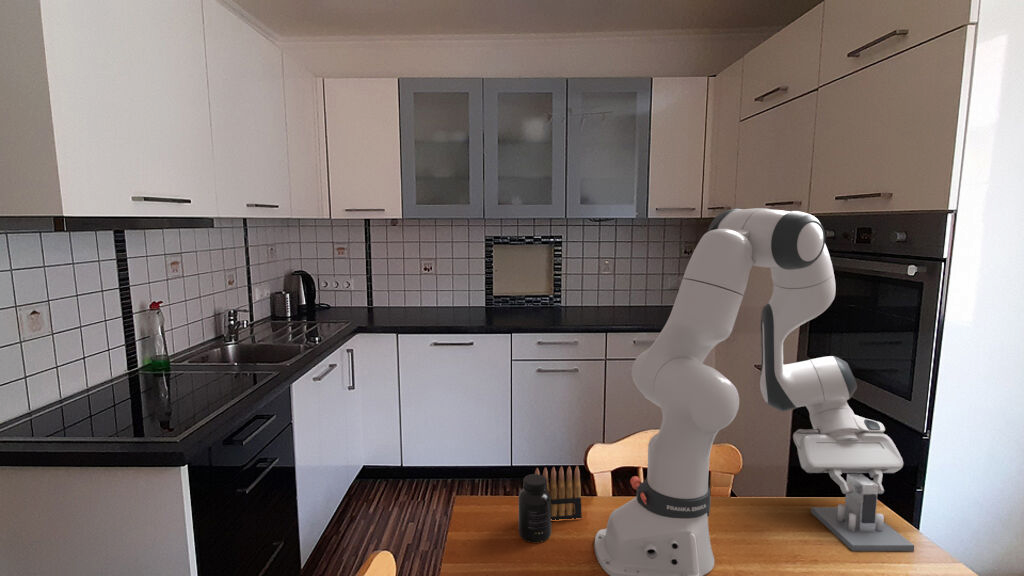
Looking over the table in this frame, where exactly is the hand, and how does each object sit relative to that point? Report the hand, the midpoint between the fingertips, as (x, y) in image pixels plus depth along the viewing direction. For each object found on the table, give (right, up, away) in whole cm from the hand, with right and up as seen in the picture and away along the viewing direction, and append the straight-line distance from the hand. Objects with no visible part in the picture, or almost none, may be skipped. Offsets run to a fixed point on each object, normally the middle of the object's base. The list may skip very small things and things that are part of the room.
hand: (863, 493), depth 105 cm
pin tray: (0, -8, +2) cm, 9 cm away
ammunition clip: (-63, -8, +6) cm, 64 cm away
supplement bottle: (-68, -9, +1) cm, 68 cm away
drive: (0, -7, +1) cm, 7 cm away
